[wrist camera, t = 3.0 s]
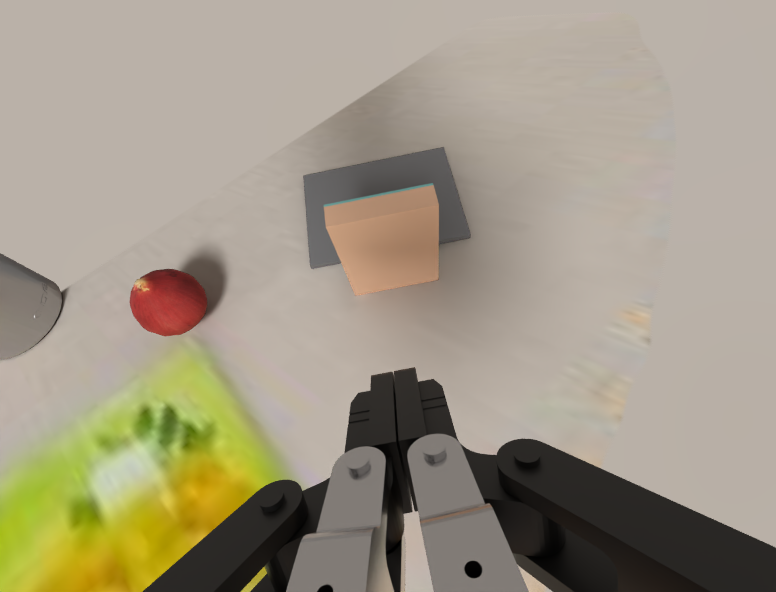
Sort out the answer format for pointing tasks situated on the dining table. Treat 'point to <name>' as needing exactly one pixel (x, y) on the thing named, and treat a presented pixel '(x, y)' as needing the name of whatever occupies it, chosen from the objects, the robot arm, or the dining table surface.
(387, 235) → the tan flat block
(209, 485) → the dining table surface
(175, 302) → the onion
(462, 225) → the mat
